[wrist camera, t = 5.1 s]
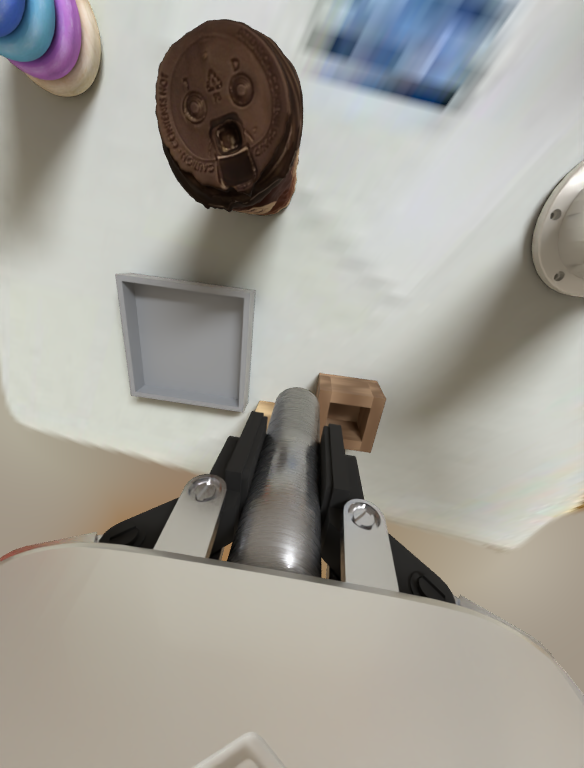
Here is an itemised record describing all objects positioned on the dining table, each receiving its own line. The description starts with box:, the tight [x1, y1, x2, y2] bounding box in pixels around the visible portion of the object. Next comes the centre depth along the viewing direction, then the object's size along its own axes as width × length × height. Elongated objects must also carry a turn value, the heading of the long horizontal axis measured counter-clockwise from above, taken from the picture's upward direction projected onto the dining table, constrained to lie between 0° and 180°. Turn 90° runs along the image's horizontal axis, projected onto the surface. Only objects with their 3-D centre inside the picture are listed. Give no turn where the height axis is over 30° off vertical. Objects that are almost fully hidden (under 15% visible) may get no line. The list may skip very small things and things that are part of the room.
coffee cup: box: [155, 19, 303, 216], centre depth 20 cm, size 9×8×13 cm
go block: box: [316, 373, 386, 453], centre depth 33 cm, size 7×7×5 cm
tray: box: [115, 273, 255, 412], centre depth 32 cm, size 14×14×3 cm
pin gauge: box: [227, 387, 321, 578], centre depth 10 cm, size 3×3×12 cm
